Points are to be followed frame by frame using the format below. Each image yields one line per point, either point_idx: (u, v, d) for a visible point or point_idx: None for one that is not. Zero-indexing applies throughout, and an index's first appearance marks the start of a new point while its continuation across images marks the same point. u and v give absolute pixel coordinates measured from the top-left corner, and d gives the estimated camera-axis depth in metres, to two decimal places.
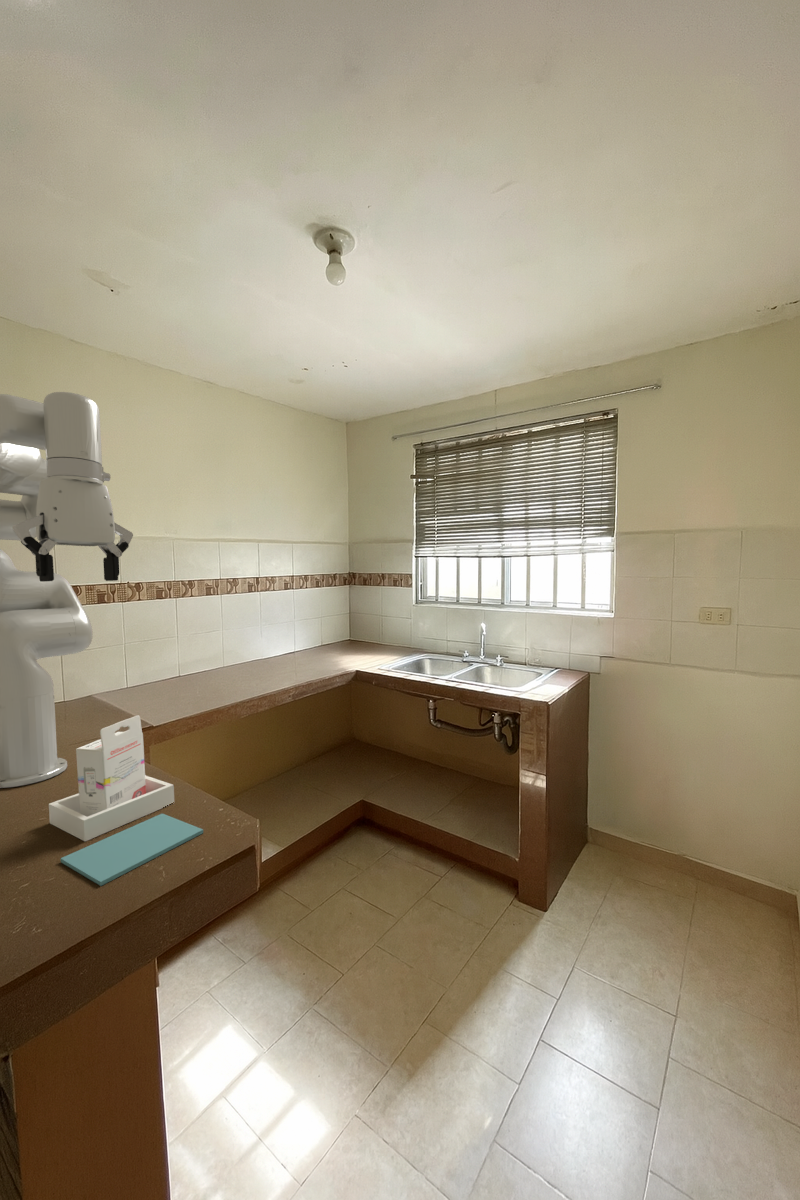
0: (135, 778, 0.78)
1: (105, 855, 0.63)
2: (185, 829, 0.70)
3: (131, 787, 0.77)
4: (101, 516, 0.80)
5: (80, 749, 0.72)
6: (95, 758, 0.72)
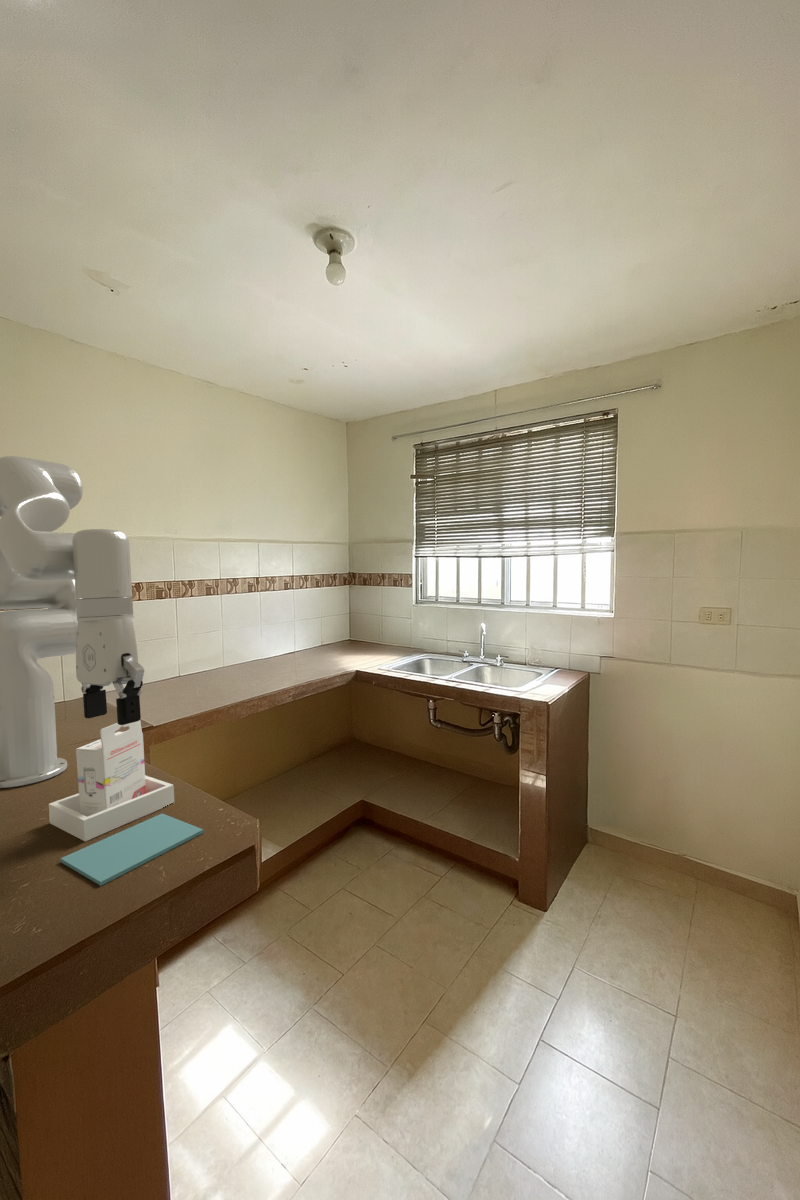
0: (135, 778, 0.78)
1: (105, 855, 0.63)
2: (185, 829, 0.70)
3: (131, 787, 0.77)
4: None
5: (80, 749, 0.72)
6: (95, 758, 0.72)
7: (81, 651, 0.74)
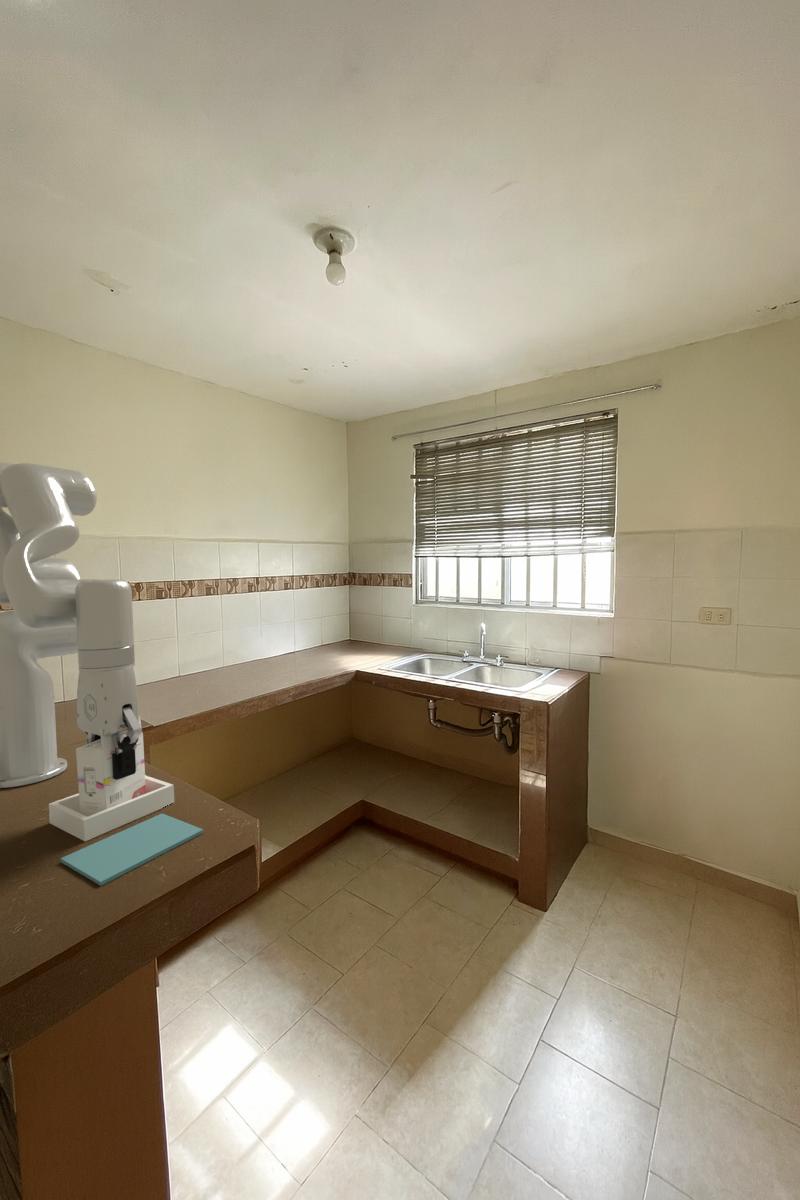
0: (135, 778, 0.78)
1: (105, 855, 0.63)
2: (185, 829, 0.70)
3: (131, 787, 0.77)
4: None
5: (80, 749, 0.72)
6: (95, 757, 0.72)
7: (82, 700, 0.75)
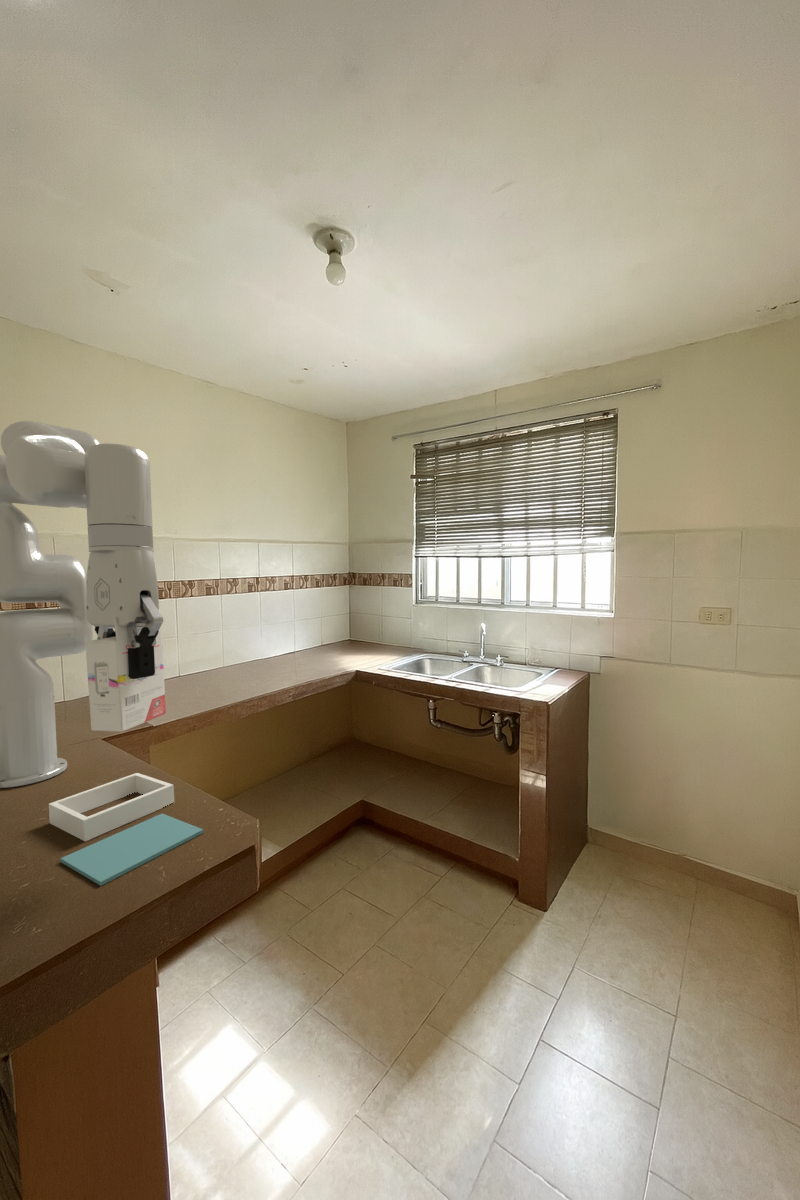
0: (153, 684, 0.67)
1: (105, 855, 0.63)
2: (185, 829, 0.70)
3: (149, 693, 0.66)
4: None
5: (90, 641, 0.62)
6: (108, 650, 0.61)
7: (93, 588, 0.64)
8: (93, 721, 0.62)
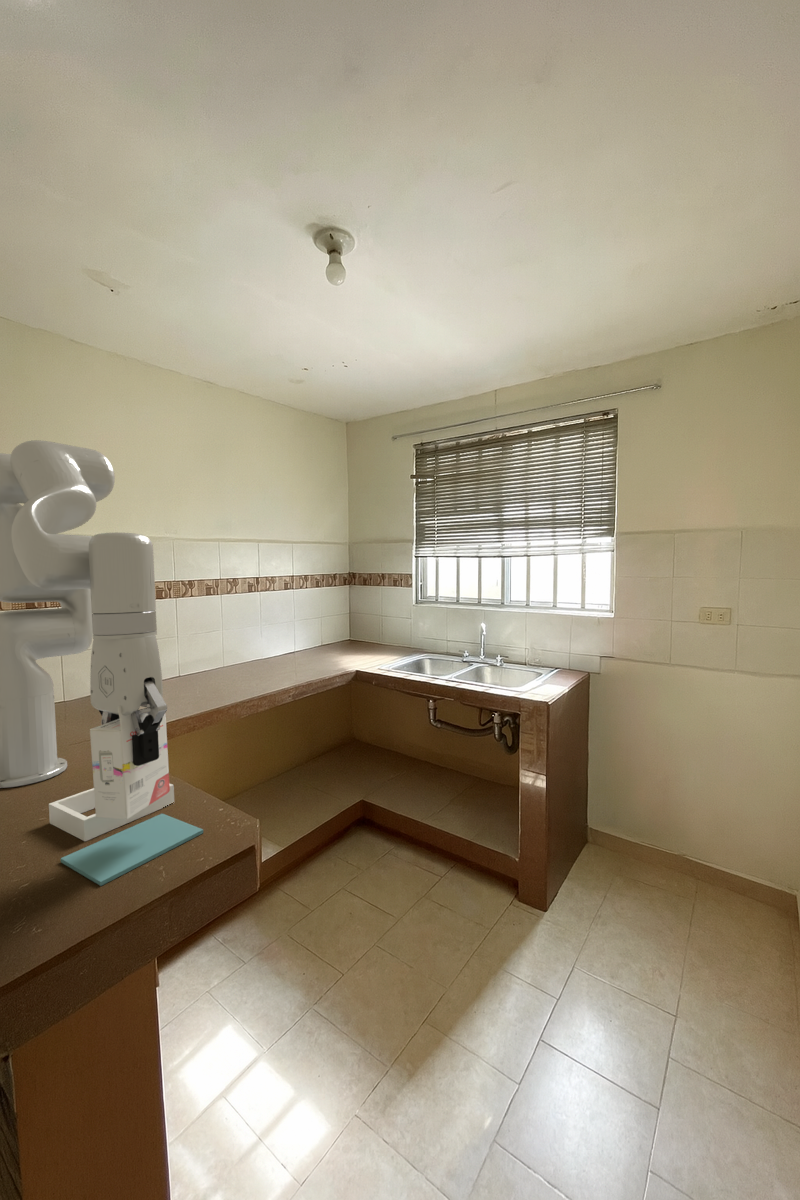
0: (157, 765, 0.67)
1: (105, 855, 0.63)
2: (185, 829, 0.70)
3: (153, 775, 0.67)
4: None
5: (95, 729, 0.62)
6: (113, 739, 0.61)
7: (97, 673, 0.64)
8: (98, 809, 0.62)
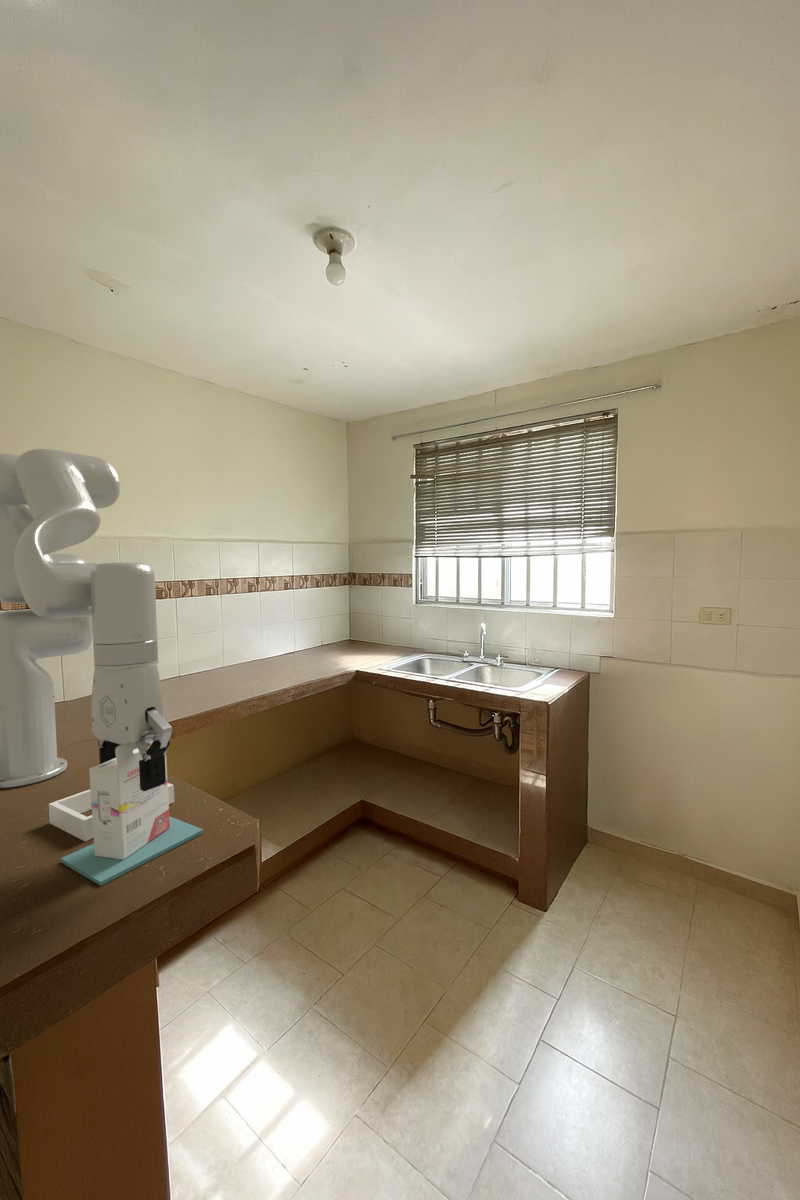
0: (156, 802, 0.68)
1: None
2: (185, 829, 0.70)
3: (152, 813, 0.67)
4: None
5: (94, 769, 0.63)
6: (110, 780, 0.62)
7: (98, 702, 0.64)
8: (96, 847, 0.63)
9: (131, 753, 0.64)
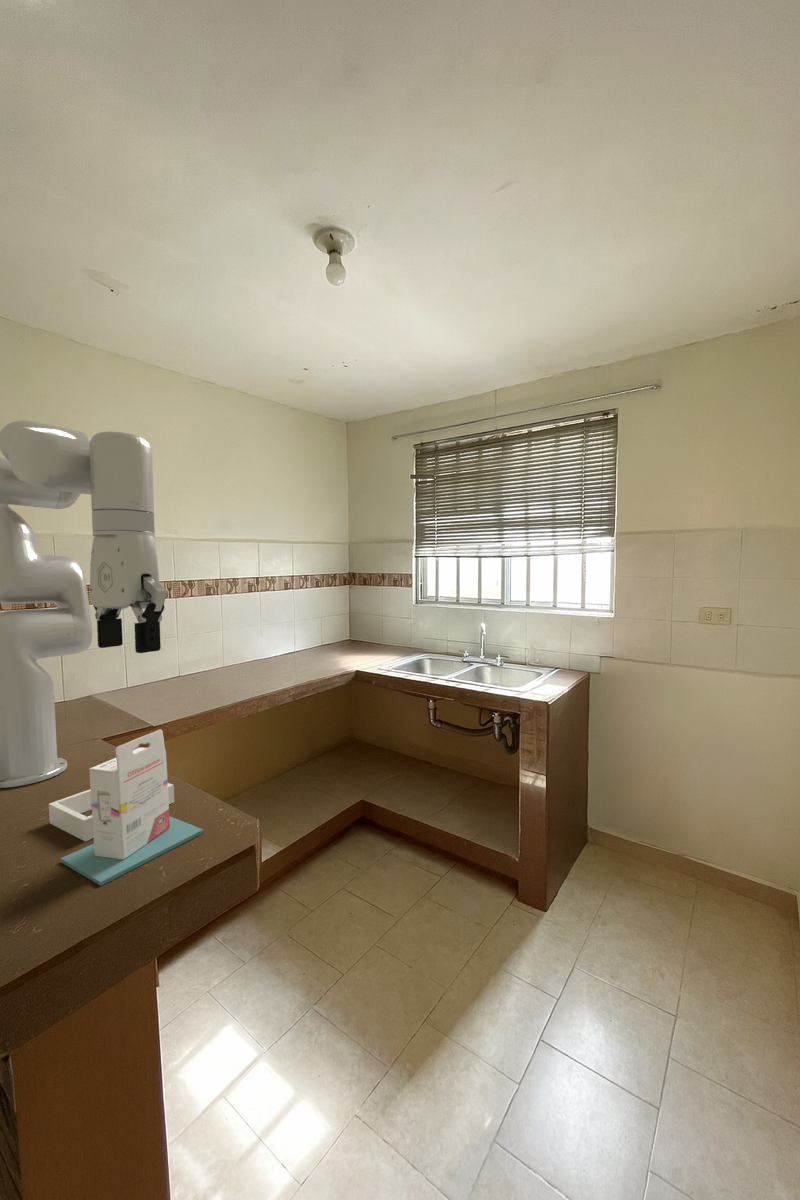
0: (156, 802, 0.68)
1: None
2: (185, 829, 0.70)
3: (152, 813, 0.67)
4: None
5: (94, 769, 0.63)
6: (110, 780, 0.62)
7: (96, 570, 0.66)
8: (96, 847, 0.63)
9: (131, 753, 0.64)
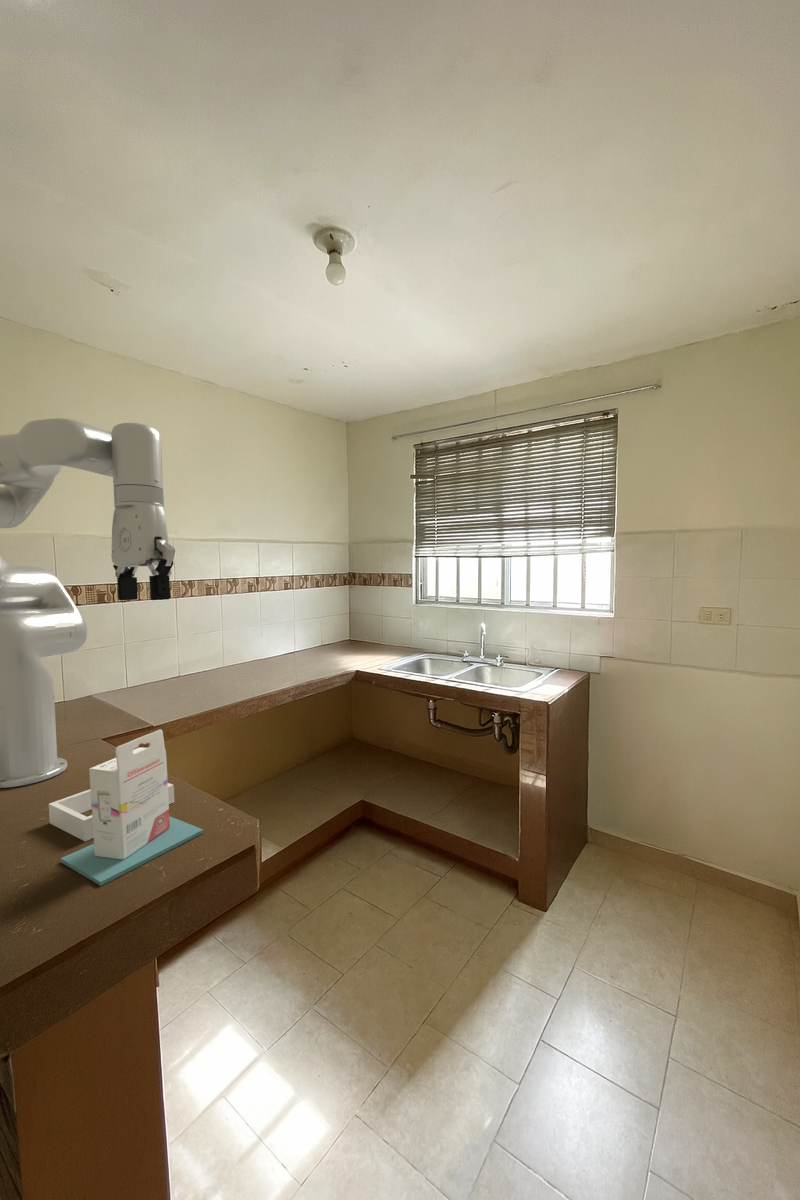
0: (156, 802, 0.68)
1: None
2: (185, 829, 0.70)
3: (152, 813, 0.67)
4: None
5: (94, 769, 0.63)
6: (110, 780, 0.62)
7: (117, 535, 0.82)
8: (96, 847, 0.63)
9: (131, 753, 0.64)
